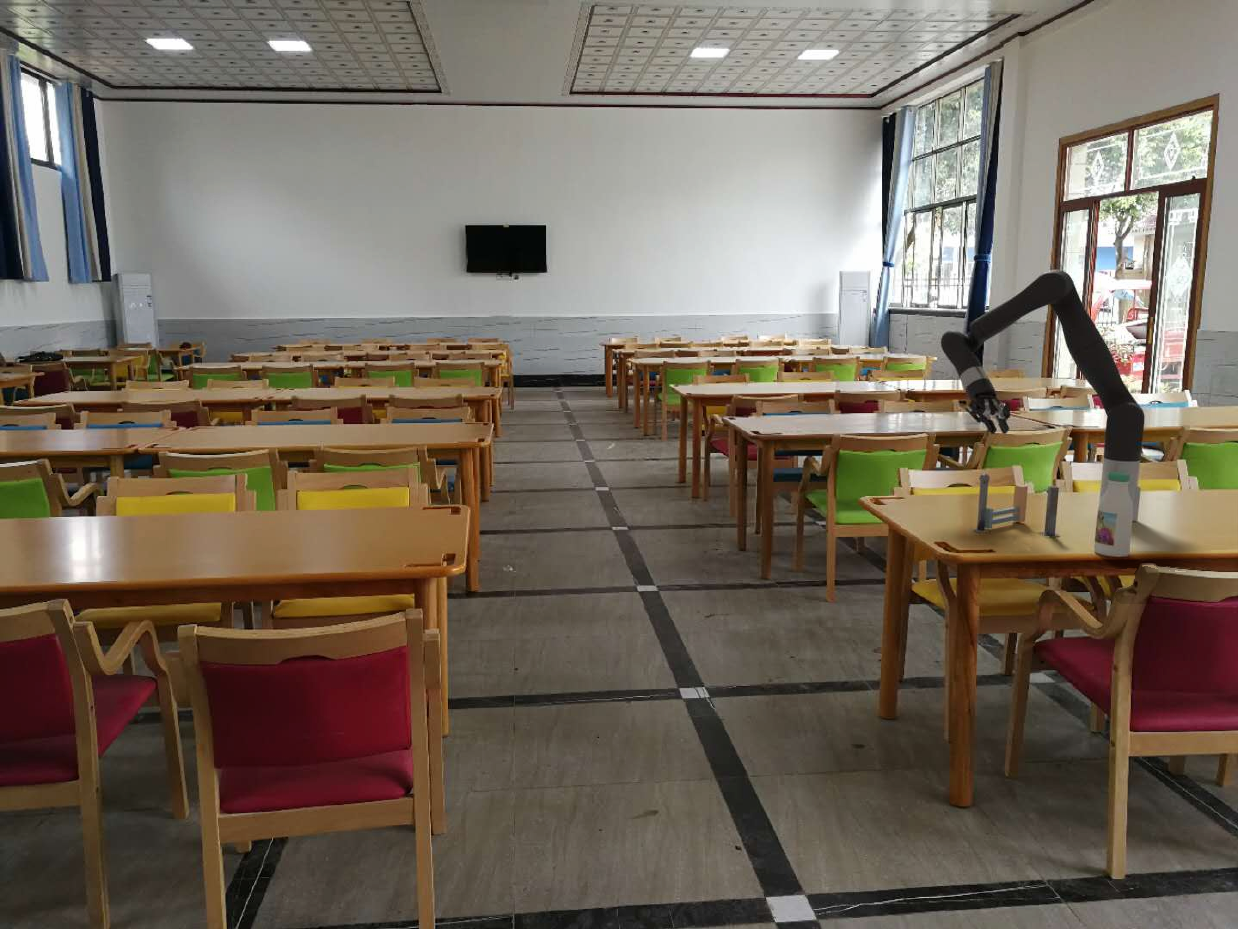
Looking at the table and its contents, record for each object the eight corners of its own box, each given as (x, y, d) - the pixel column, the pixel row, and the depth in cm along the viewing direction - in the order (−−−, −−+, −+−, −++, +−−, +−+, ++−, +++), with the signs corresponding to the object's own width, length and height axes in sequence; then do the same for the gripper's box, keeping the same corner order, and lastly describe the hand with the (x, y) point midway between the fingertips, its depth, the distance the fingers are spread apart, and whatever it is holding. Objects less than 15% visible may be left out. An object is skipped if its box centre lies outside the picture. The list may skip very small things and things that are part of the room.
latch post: (1039, 532, 253) (1043, 485, 251) (1054, 533, 253) (1058, 485, 250) (1044, 536, 249) (1048, 488, 247) (1060, 537, 249) (1064, 488, 246)
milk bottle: (1121, 549, 236) (1129, 470, 233) (1134, 558, 229) (1142, 476, 225) (1088, 549, 237) (1096, 470, 234) (1101, 557, 230) (1108, 476, 226)
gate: (989, 528, 255) (992, 492, 253) (982, 527, 257) (984, 490, 255) (1024, 521, 264) (1027, 486, 262) (1017, 519, 266) (1019, 484, 264)
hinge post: (985, 529, 257) (989, 472, 254) (990, 532, 253) (995, 475, 250) (970, 529, 257) (974, 472, 254) (975, 532, 253) (980, 475, 250)
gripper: (962, 377, 275) (985, 425, 266) (1004, 377, 279) (1028, 423, 269) (950, 394, 281) (972, 440, 272) (992, 393, 285) (1015, 439, 275)
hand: (1000, 432), depth 271 cm, fingers open, 3 cm apart
